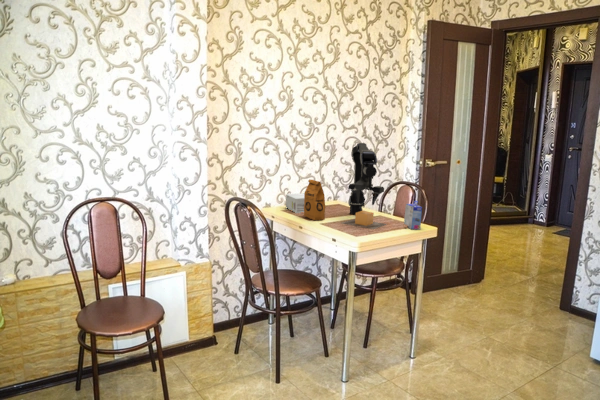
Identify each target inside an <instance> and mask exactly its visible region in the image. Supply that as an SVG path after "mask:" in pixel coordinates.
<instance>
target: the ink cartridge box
mask: <svg viewBox="0 0 600 400" xmlns="http://www.w3.org/2000/svg"><path fill="white" fill-rule="evenodd" d="M418 203H419V201H418V200H414V201H413V203H405V209H404V221H403V225H405V226H406V227H407V228H408V229H410V230H421V224H422V223H421V222H422V214H423V213H422V212H423V206H420V205H419V204H418Z"/></svg>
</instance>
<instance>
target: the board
mask: <svg viewBox="0 0 600 400" xmlns="http://www.w3.org/2000/svg"><path fill="white" fill-rule="evenodd" d="M341 224H343V225H348V226H354V227H359V228H365V229H368V230H369V229H371V230H376V229H378V228H381V227H384V226H386V225H388V223H385V222H377V221H373V224H370V225H367V226H365V225H360V224H355V218H353V219H350V220H346V221H343V222H341Z"/></svg>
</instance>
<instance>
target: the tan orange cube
mask: <svg viewBox="0 0 600 400" xmlns="http://www.w3.org/2000/svg"><path fill="white" fill-rule="evenodd" d="M354 216H355V218H354V219H355V224H360V225H365V226H367V225H370V224H373V222H374V212H371V211H365V210H362V211H360V212H356V215H354Z"/></svg>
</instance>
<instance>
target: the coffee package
mask: <svg viewBox="0 0 600 400" xmlns="http://www.w3.org/2000/svg"><path fill="white" fill-rule="evenodd" d="M307 182H308V185H307V186H306V189H305V191H304V213H303V216H304V217H305V218H308V219H310V220H313V221H324V220H325V217H326V216H325V215H326V213H325V212H326V200H325V199H326V198H325V197H326V196H325V192H324V189H323V186H322V183H321V181H318V180H314V179H309V180H308V181H307Z"/></svg>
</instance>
